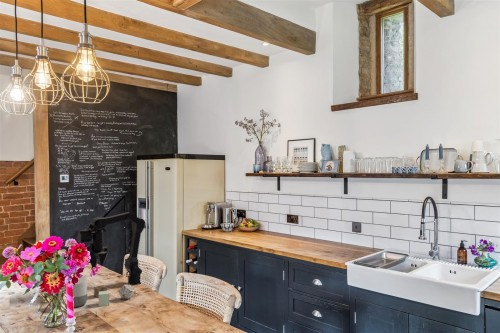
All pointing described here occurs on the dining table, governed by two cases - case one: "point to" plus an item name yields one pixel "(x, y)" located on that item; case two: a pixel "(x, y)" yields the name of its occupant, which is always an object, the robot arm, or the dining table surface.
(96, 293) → the walnut cube
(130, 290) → the game die
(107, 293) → the sage block
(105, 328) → the dining table surface
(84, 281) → the smart speaker
